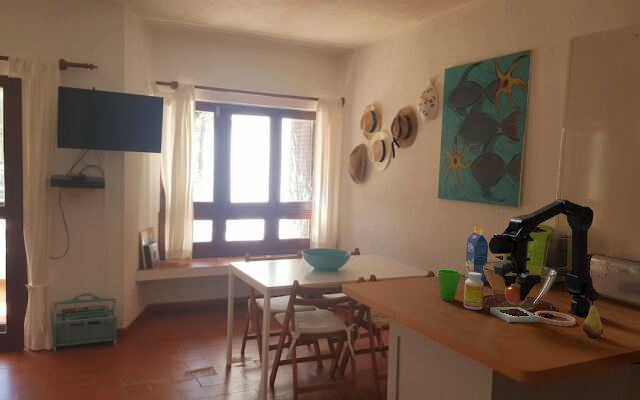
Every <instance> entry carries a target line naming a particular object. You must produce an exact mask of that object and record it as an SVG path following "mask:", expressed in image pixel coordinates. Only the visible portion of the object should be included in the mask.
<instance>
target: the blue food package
mask: <svg viewBox="0 0 640 400" xmlns="http://www.w3.org/2000/svg"><path fill="white" fill-rule="evenodd" d="M488 252H489V242H488V241H487V239H486V238H485V237H484V235H483V228H479V227H476V226H474V227H473V232H472V233H471V234H470V235H469V236H468V238H467V241H466V252H465V254H466V256H465V268H464V278H465V280H467V279H469V277H468V273H469V272H476V273H480V274H482V277H481V281H483V283H484V284H486V283H487V282H486V281H487V275H486V276H485V274H484V271H483V265H484V264H485V263H487V264H488V255H489V253H488Z"/></svg>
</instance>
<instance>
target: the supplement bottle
mask: <svg viewBox="0 0 640 400" xmlns="http://www.w3.org/2000/svg"><path fill="white" fill-rule="evenodd" d="M468 277H469V279H465V281H464V291H463V292H464V293H463V307H464V308H466V309H469V310H475V311H480V310H481V309H483V302H484V287H485V285H484V284H485V283H483V281H481V277H482V274H480V273H476V272H469V273H468Z"/></svg>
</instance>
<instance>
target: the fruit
mask: <svg viewBox="0 0 640 400" xmlns="http://www.w3.org/2000/svg"><path fill="white" fill-rule="evenodd" d="M586 299H587V300H588V298H587V297H586ZM588 301H589V300H588ZM589 303H590V301H589ZM590 304H591V303H590ZM582 331H583V332H584V333H585V335H587V336H588V337H590V338H599V337H601V336H602V335H603V333H604V325H603V323H602V320H601V316H600V313H599V310H598V308H597V306H595V305H594V304H593V305H592V304H591V307H590V310H589V314H588V316H587V317H586V318H585V320H584V321H583V322H582Z"/></svg>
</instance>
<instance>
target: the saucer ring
mask: <svg viewBox="0 0 640 400" xmlns="http://www.w3.org/2000/svg"><path fill="white" fill-rule="evenodd" d="M540 313H549V314H552V315H553V316H552V317H557V318H560V319H564V320H555V319H549V318H545V317H543V316H542V315H540V316H539V315H538V314H540ZM533 314H535V315H537V316H539V317H540V319H539V322H541V323H544V324H547V325H553V326H557V327H558V326H559V327H572V326H574V325H576V322H577V321H576V318H575V317H574V316H571V315H570V314H566V313H563V312H557V311H552V310H551V311H550V310H538V311H535V312H534V313H533Z"/></svg>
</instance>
